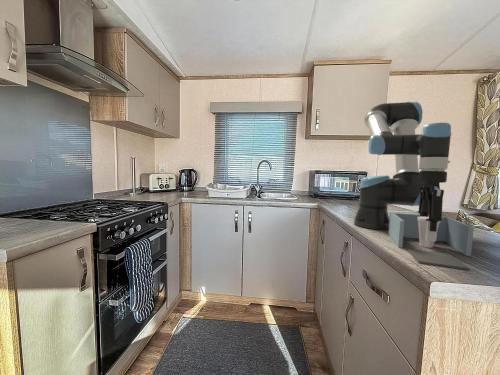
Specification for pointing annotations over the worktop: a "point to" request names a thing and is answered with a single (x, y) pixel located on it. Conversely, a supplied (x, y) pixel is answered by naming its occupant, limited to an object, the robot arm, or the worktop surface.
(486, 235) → the worktop surface
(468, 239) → the open frame
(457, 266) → the mat
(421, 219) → the smoothie
